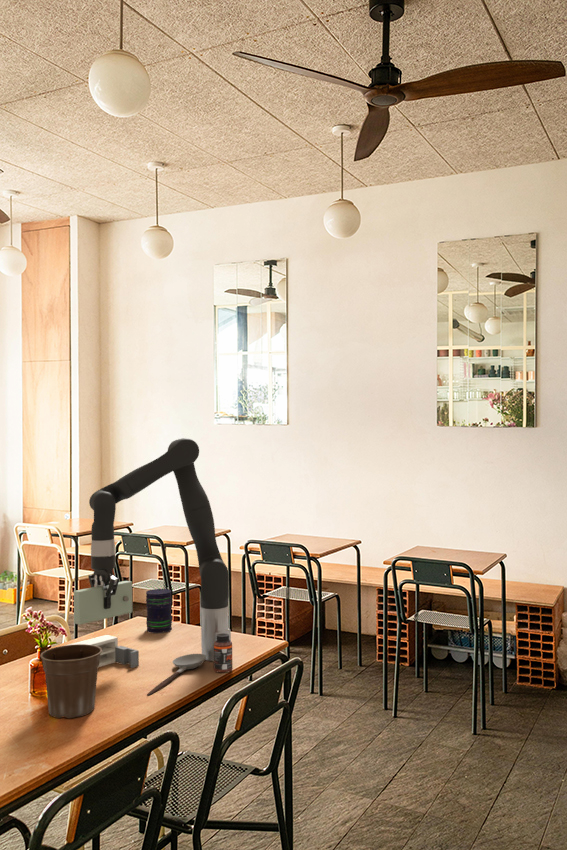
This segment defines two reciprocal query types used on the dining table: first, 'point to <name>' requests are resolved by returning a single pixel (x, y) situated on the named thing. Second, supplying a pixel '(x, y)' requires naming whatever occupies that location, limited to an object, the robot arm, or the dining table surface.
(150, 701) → the dining table surface
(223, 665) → the supplement bottle
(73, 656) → the plant pot
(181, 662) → the spoon
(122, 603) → the door
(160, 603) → the dark blue barrel
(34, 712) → the dining table surface
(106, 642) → the cabinet
